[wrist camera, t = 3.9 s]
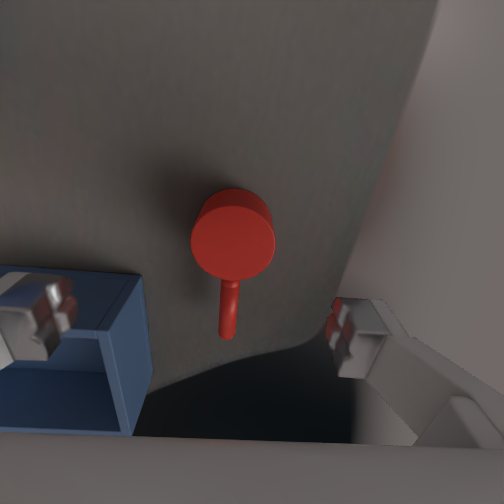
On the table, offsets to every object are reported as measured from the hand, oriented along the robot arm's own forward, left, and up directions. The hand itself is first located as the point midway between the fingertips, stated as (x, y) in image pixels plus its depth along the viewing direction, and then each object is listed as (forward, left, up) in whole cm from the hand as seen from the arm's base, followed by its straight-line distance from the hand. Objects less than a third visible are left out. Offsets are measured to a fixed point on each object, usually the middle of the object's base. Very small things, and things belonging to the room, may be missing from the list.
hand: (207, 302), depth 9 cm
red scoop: (-1, +3, -7) cm, 8 cm away
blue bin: (+11, +9, -7) cm, 16 cm away
